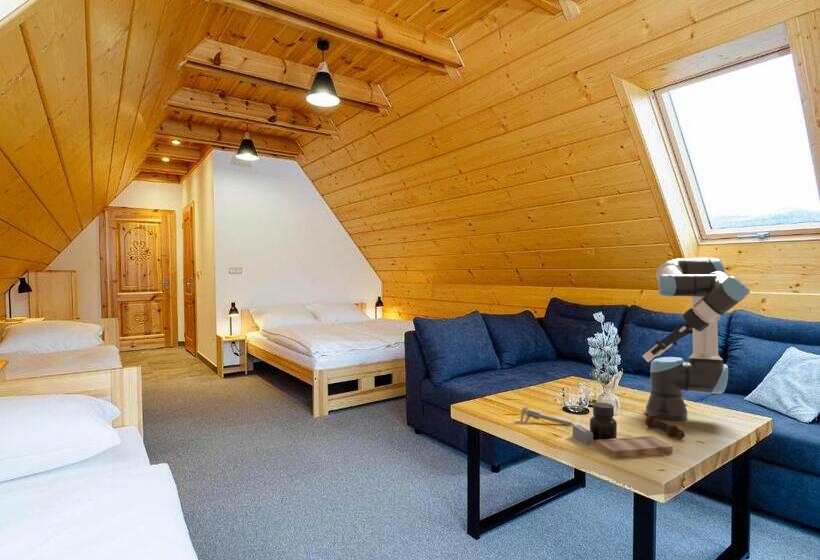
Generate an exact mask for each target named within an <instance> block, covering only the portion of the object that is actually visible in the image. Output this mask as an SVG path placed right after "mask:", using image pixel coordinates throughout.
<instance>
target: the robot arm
mask: <svg viewBox="0 0 820 560" xmlns="http://www.w3.org/2000/svg"><path fill="white" fill-rule="evenodd" d="M655 278H656V280H657V282H658V293H659V295H660V296H661V297H691V303H692V304H691V308H689V309H688V310H686V311H685V312H684V313H683V314H682V318H683V320H684V321H686V322H681V323H679V324H678V325H677V326H676V327H675V328H674V329H673V330H672V331H671V333H669V334H668V335H667V336H665V337H664V338H663V339H662V340H660V341H658V340H657V341H655V345H654V346H653V347H652V348H650V349H649V350H648V351H646V352H645V353H644V354H643V355H641V356H642V358H643V359H644V360H645V361H646V362H647V363H649V362H650V370H649V372H650V389H649V391H650V394H649V397H648V400H647V403H646V405H645V414H646V415H647V416H648V415H650V414H656V415H658V417H659V419H660V420H664V421H683V420H684V421H685V420H687V419H688V415H689V414H688V410H687V407H686V404H685V400H684V399H683V398H684V396H683V393H684V392H691V393H692V392H693V393H701V394H702V393H703V394H709V395H711V394H723V393H724V392H725V390H726V388H727V385H728V380H729V365H728V364H725V363H724V359H723V358H722V357H720V355H719V344H718V343H719V340H718V339H719V337H718V336H719V335H718V330H719V329H718V321H720V320H721V318H720V317H721V316H722V315H724V314H726V313H727V312H728V311H730V310H731V309H732V308H733V307H735V306H736V305H737V304H738V303H740V302H742V301H743V300H744V299H745V298H746V297H747V296H748V295H749V294H750V288H749V287H748V286H747V285H746V284H745V283H744V282H742V281H741V280H740V279H739V278H737V277H735V276H734V275H728V274H727V273H726V270H725V266H724V263H723V261H722V260H721V259H719V258H715V257H714V258H713V257H695V258H694V257H693V258H692V257H691V258H690V257H689V258H685V257H683V258H680V257H679V258H673V259H670V260H669V259H668V260H667V261H666V260H665V261H664V262H663V263H661V264H659V266H658V267H657V268H656V270H655ZM691 333H692V354H691V355H689V356H688V361H684V359H683V358H682V357H679V356H678V357H675V356H664V357H659V356H661V354H663V353H665V352H666V350H668V349H670V348H671V347H672V346H673V345H674V346H676V345H678V343H677V342H678V341H679V340H681V339H683V338H684V337H686V336H688V335H689V334H691ZM655 357H657V358H655ZM654 358H655V359H654Z"/></svg>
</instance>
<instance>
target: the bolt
mask: <svg viewBox="0 0 820 560" xmlns="http://www.w3.org/2000/svg"><path fill="white" fill-rule="evenodd" d="M644 422H645V425H646V426H647V428H649V429H658V430H660V431H662V432H664V433H665V434H666V436H667V437H669V438H676V439H678V440H683V439H684V438H685V436H686V432H685V431H684V430H683V429H680V428H679V427H678V424H675V423H667V422H665V421H663V420H662V419H659V417H658V415H656V414H650V415H648V414H647V416H646V418H645V421H644Z"/></svg>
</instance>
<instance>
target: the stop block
mask: <svg viewBox="0 0 820 560" xmlns="http://www.w3.org/2000/svg"><path fill="white" fill-rule="evenodd" d="M573 436H574V438H575V439H576V438H577V439H576V440H578V441H579V440H580V441H579V442H581V443H582V444H583V445H585V446H593V445H594V440H593V433H592V432H590V429H587V428H586V427H584V426H582V425H581V424H575V425H572V437H573Z"/></svg>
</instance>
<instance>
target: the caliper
mask: <svg viewBox="0 0 820 560" xmlns="http://www.w3.org/2000/svg"><path fill="white" fill-rule="evenodd" d="M525 415H526V418H525V422H526V423H527V422H528V421H529V419H530V418H533V419H535V420H539V419H543V420H546V421H550V422H554V423H558V424H561V425H564V426H569V425H572V426H573V425H576V424H575V423H573V421H569V420H566V419H562V418H559V417H554V416H551V415H546V414H543V413H541V412H539V411H535V410H533V409H529V406H527V407H526V406H524V408H522V410H521V412H520V421H521V422H523V420H524V416H525Z"/></svg>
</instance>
